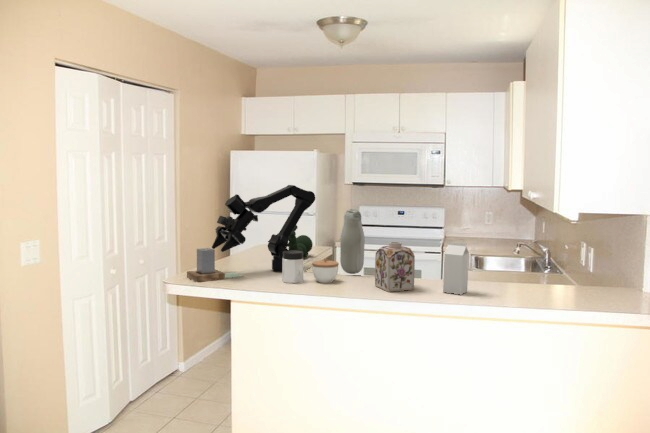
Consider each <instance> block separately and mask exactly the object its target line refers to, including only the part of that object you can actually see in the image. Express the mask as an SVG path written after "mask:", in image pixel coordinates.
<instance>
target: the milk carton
mask: <svg viewBox="0 0 650 433" xmlns="http://www.w3.org/2000/svg"><path fill="white" fill-rule="evenodd" d="M443 254H444V257H443V258H444V261H443V280H442V283H443V284H442V293H444V292H447V293H446V294H451V293H454V294H453V295H458V294H460V296H462V295H463V293H464V294H465V293H467V292H468V284H469V283H468V282H469V263H470V262H469V261H470V260H469V259H470V258H469V257H470V252H469V249H468V247H467V243H466V242H465V243H463V242H452V241H447V246H446V248H445V251H444V253H443Z"/></svg>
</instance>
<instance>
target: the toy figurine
mask: <svg viewBox="0 0 650 433" xmlns="http://www.w3.org/2000/svg"><path fill="white" fill-rule="evenodd" d="M296 230H298V224H296V226H295V228H294V229H293V231H292V233H291V234H290V236H289V238H288V245H287V247H288V250H296V251H302V252H303V259H306V258H307V256H308V255H309V252H310V251H311V250H312V249H313V246H314V245H313V243H314V242H313V241H312V239H311V237H309V236H308V235H306V234H305V235H304V234H301V235H298V236H296V234H297V233H296Z"/></svg>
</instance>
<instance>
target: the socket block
mask: <svg viewBox="0 0 650 433" xmlns="http://www.w3.org/2000/svg"><path fill="white" fill-rule="evenodd" d="M186 277H187V279H189V280H192V281H193V282H196V283H200V282H201V283H203V282H211V281H220V280H225V279H226V278H225V272H222V271H220V270H218V269H215V273H212V274H202V275H201V274H199V273H197V270H190V271H186Z"/></svg>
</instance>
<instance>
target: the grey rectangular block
mask: <svg viewBox="0 0 650 433" xmlns="http://www.w3.org/2000/svg"><path fill="white" fill-rule="evenodd" d="M215 250H216V249H213V248H212V247H211V248H210V247H205V248H196V271H197V273H199V274H201V275H202V274H212V273H215V268H216V265H215V264H216V263H215V261H216V260H215V259H216V258H215V256H216V254H215V253H216V252H215Z"/></svg>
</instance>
